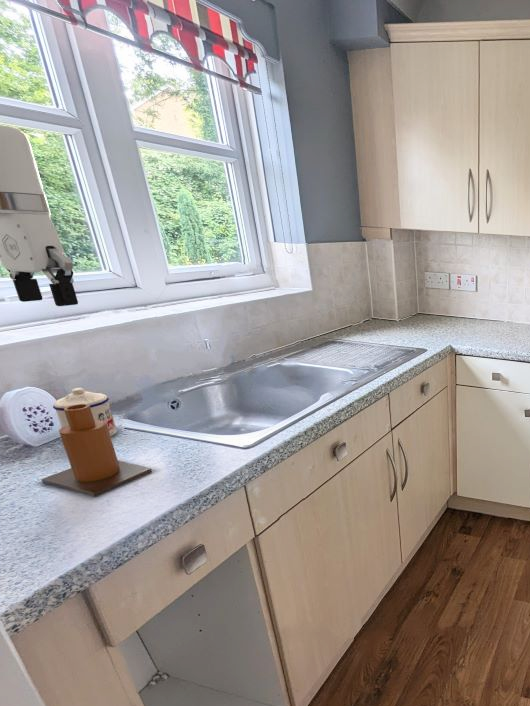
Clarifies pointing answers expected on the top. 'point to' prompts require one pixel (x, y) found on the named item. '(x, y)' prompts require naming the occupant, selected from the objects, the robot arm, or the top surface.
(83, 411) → the bottle
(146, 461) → the top surface
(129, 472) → the board
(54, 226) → the robot arm
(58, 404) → the teacup with lid
